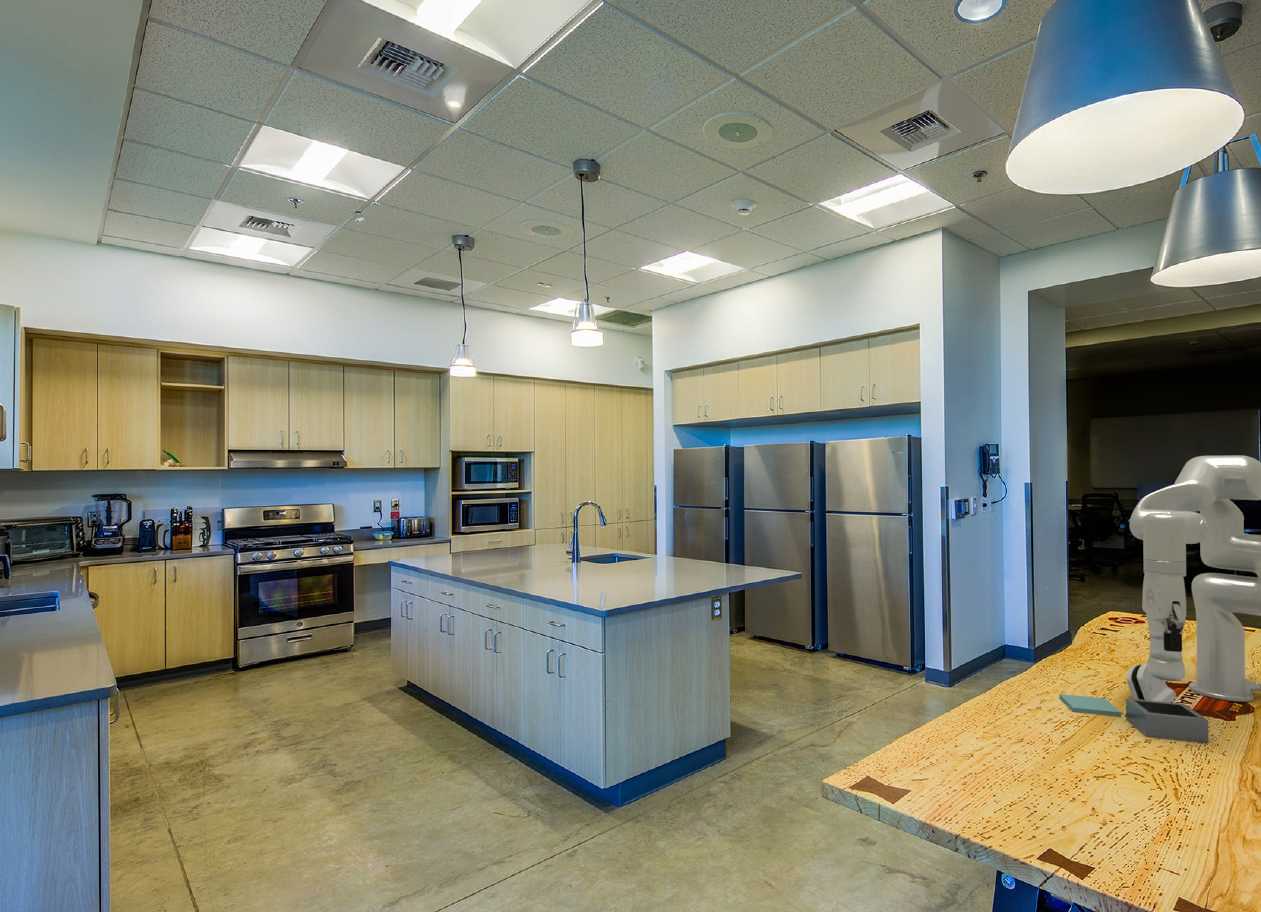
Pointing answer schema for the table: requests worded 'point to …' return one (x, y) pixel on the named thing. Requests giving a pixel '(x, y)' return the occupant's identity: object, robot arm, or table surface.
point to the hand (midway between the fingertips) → (1165, 646)
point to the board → (1090, 705)
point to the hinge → (1148, 685)
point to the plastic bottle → (1162, 652)
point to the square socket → (1167, 720)
